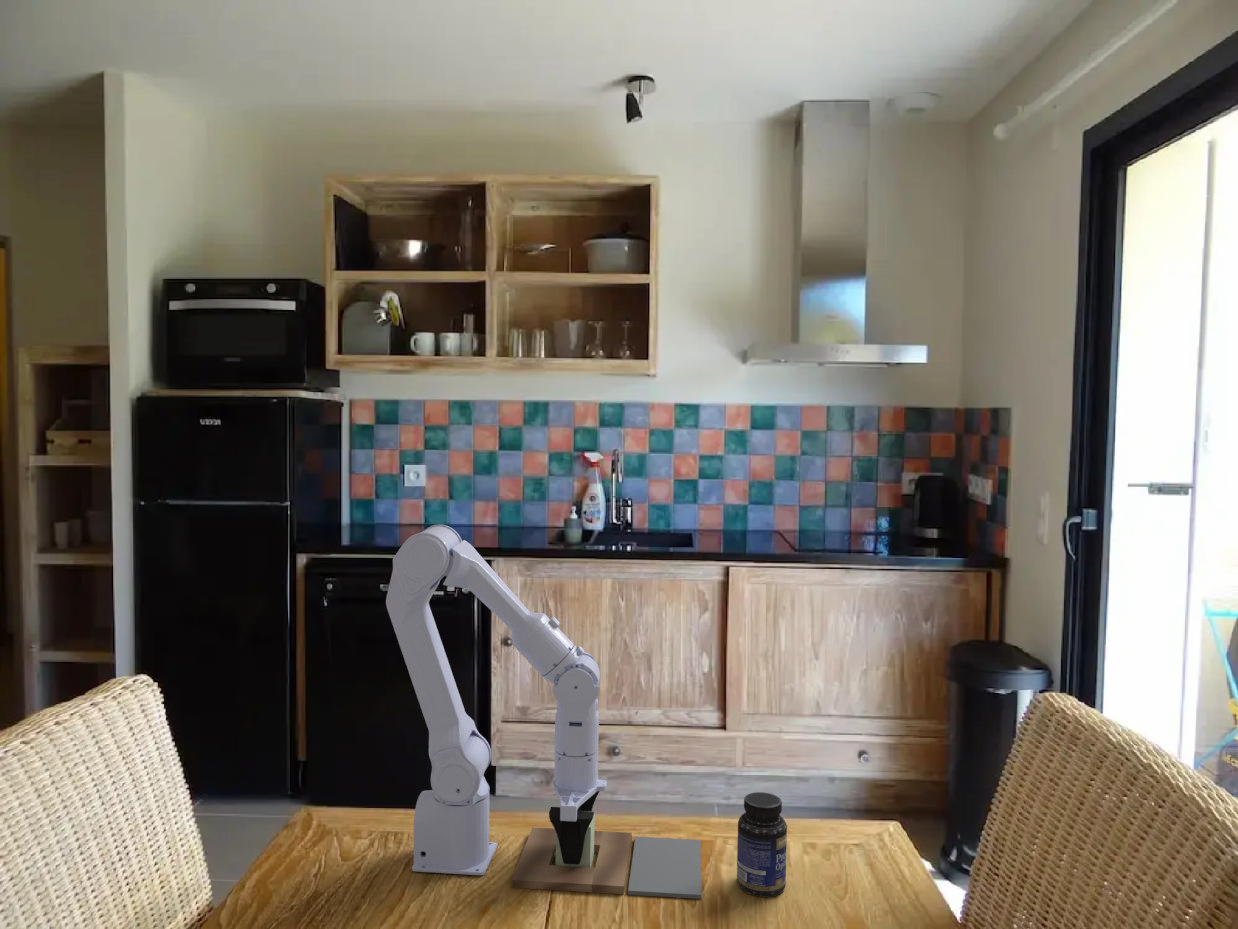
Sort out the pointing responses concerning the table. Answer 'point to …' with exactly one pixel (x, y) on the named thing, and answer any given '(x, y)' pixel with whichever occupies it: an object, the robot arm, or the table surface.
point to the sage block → (587, 849)
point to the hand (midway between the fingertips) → (575, 850)
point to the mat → (666, 868)
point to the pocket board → (601, 879)
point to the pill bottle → (762, 846)
